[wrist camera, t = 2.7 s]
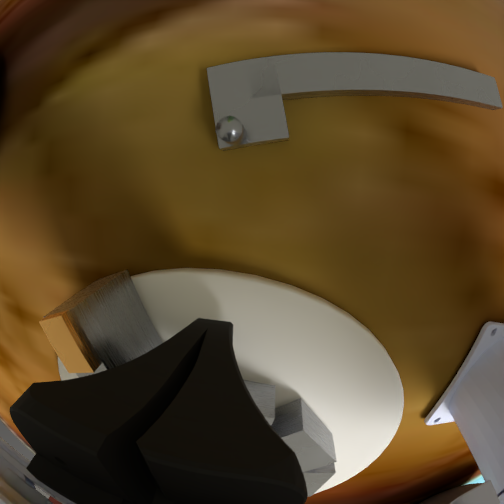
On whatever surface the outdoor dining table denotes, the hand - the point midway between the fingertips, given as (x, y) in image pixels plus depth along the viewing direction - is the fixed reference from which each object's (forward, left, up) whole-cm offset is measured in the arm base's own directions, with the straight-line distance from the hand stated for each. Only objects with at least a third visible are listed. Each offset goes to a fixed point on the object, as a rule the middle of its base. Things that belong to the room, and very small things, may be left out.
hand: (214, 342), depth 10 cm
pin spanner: (-5, -11, -2) cm, 12 cm away
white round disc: (-1, +9, -2) cm, 9 cm away
